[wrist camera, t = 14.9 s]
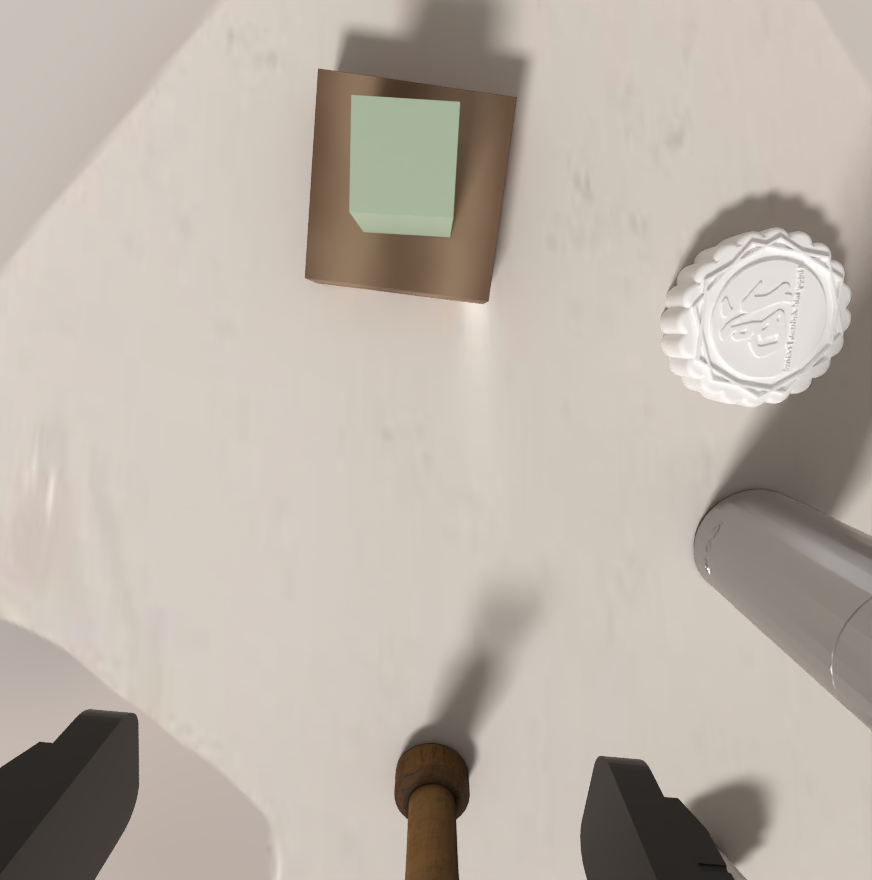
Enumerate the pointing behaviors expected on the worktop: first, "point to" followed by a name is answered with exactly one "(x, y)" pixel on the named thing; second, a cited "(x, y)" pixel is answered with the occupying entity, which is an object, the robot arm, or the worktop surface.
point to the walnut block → (395, 255)
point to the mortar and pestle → (431, 809)
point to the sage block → (403, 165)
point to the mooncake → (756, 317)
